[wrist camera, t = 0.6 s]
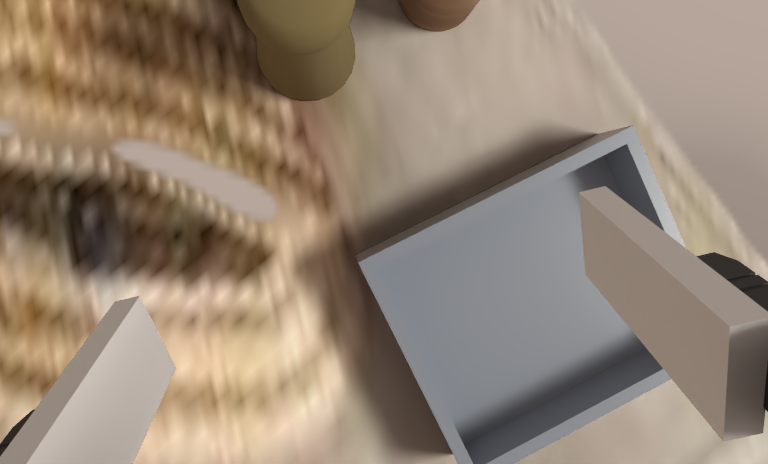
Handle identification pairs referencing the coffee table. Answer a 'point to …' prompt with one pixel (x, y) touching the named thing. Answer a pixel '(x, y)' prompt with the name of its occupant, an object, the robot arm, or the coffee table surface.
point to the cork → (302, 44)
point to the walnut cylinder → (437, 12)
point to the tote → (519, 305)
